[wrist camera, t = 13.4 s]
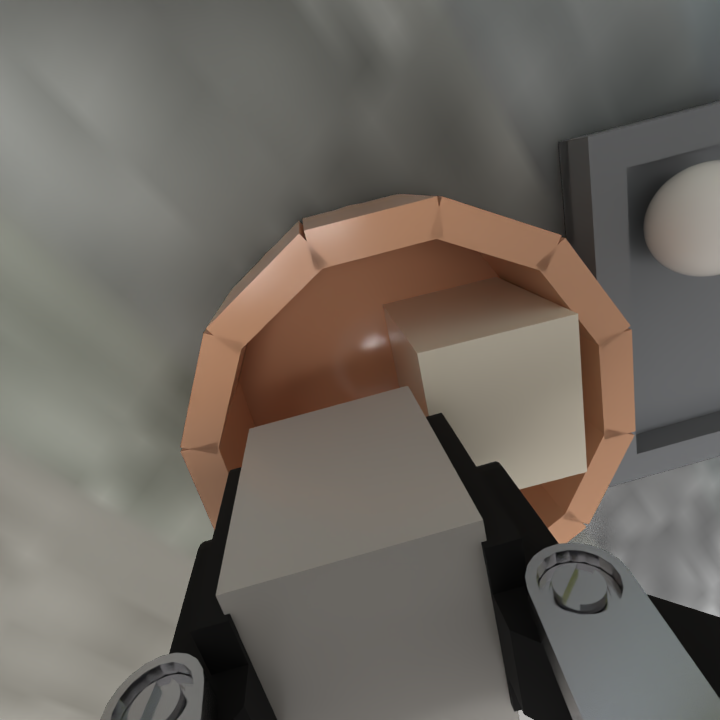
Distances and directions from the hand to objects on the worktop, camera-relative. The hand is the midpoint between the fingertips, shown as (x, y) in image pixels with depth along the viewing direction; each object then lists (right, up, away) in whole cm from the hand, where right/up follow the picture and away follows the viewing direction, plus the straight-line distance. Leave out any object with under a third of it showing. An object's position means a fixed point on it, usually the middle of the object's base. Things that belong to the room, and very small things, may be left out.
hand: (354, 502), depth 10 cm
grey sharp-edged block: (0, 0, +1) cm, 1 cm away
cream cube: (+3, +3, +5) cm, 6 cm away
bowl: (+1, +3, +5) cm, 6 cm away
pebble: (+9, +7, +4) cm, 13 cm away
